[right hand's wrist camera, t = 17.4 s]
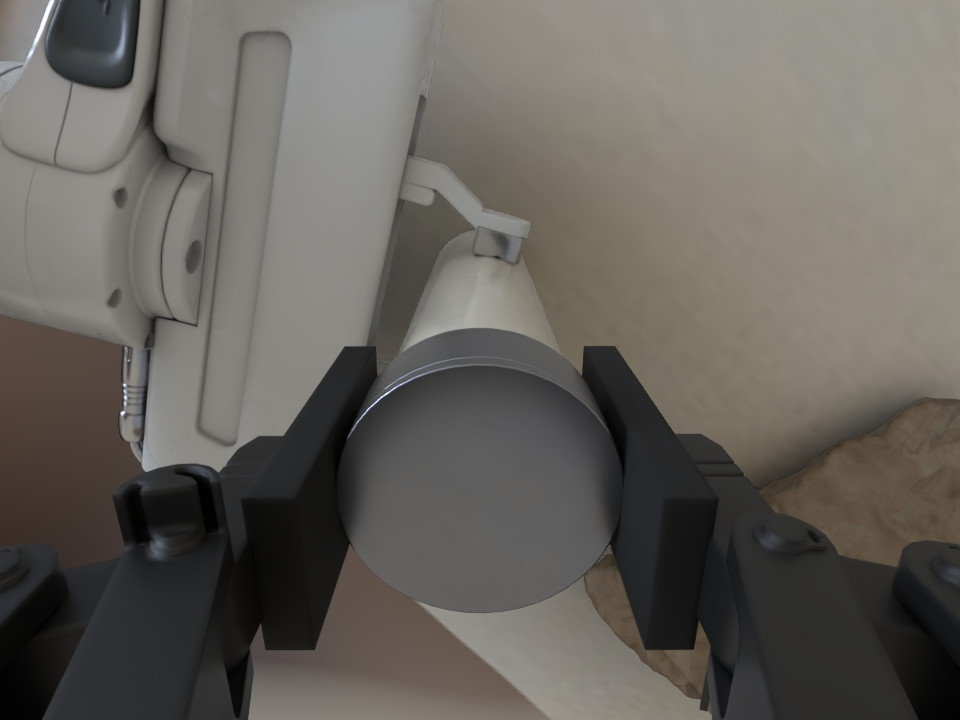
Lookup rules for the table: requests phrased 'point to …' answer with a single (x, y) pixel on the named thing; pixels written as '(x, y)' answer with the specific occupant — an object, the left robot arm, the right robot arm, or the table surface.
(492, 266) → the cream cylindrical bottle
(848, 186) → the table surface
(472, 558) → the lid
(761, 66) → the table surface
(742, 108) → the table surface
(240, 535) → the right robot arm
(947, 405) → the stone
